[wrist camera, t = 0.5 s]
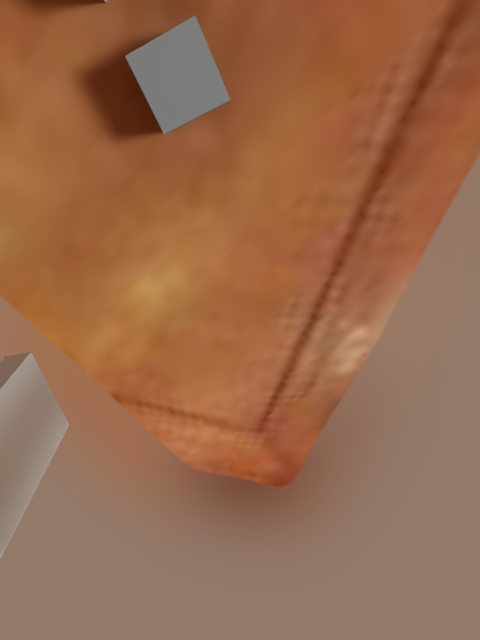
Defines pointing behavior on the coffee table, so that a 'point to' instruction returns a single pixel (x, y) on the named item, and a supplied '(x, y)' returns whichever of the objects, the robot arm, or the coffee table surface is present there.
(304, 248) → the coffee table surface
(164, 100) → the cube slate
